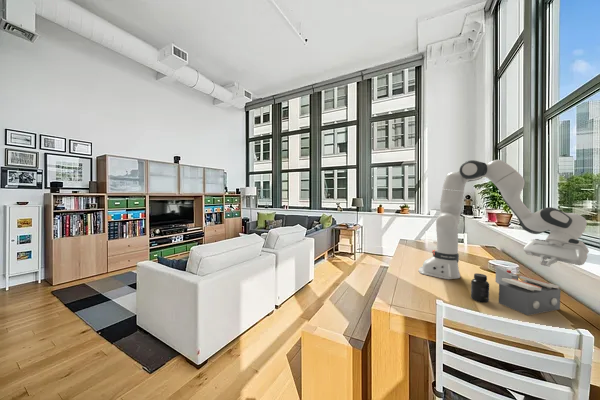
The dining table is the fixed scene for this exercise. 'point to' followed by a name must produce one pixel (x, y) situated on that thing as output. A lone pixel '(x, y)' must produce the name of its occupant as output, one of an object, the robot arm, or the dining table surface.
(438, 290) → the dining table surface
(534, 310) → the switch console
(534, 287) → the left rocker
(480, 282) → the supplement bottle
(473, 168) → the robot arm
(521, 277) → the right rocker
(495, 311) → the dining table surface
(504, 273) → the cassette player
